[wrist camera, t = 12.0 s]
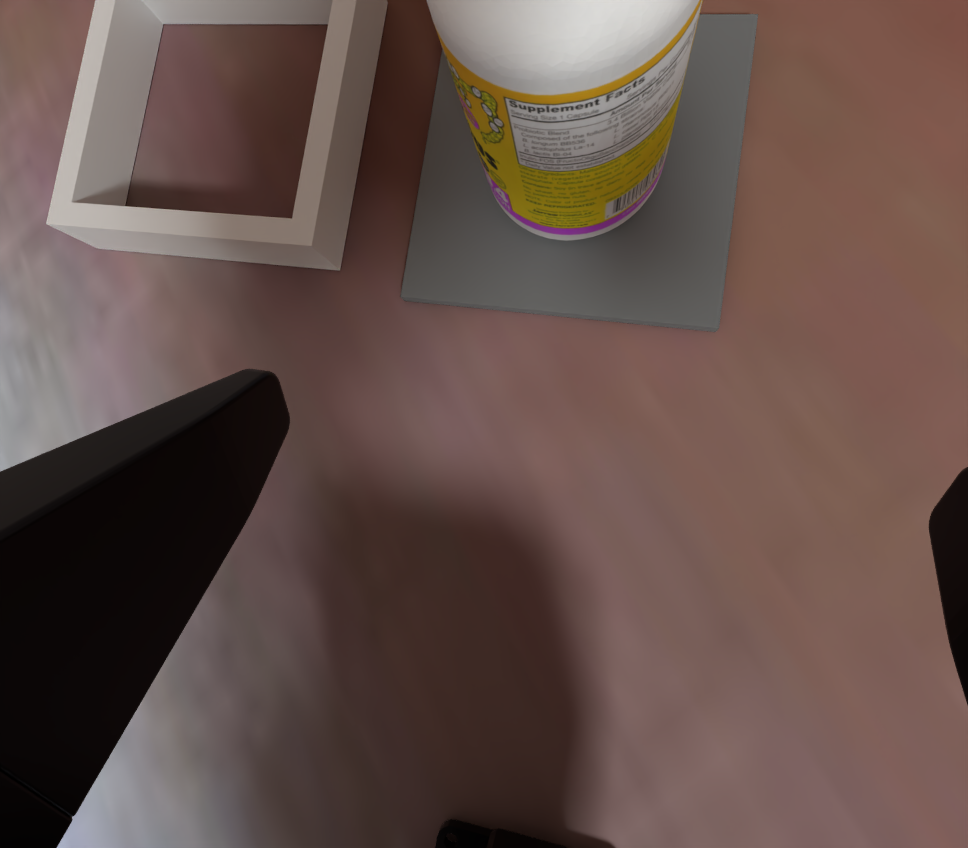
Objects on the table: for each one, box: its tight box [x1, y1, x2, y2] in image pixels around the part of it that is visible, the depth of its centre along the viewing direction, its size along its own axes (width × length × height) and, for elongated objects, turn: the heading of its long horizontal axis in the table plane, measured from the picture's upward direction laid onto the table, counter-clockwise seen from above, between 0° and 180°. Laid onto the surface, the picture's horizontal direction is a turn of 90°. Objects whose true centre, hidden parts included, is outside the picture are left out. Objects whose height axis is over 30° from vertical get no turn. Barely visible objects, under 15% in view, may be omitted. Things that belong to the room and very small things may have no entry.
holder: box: [46, 0, 388, 271], centre depth 24 cm, size 12×12×2 cm
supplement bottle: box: [427, 0, 703, 241], centre depth 15 cm, size 7×7×13 cm
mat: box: [400, 14, 758, 332], centre depth 22 cm, size 12×12×1 cm
